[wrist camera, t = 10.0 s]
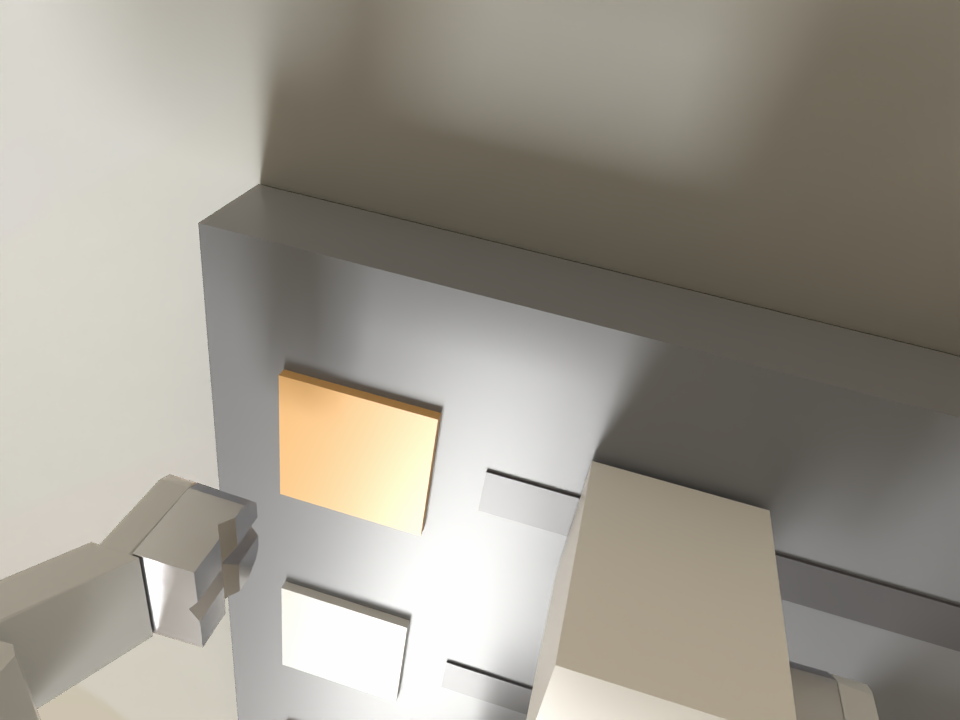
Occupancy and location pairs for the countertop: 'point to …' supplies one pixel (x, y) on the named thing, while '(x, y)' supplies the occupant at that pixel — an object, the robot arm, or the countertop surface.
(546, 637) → the cream slider knob
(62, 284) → the countertop surface
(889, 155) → the countertop surface
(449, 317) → the switch panel
